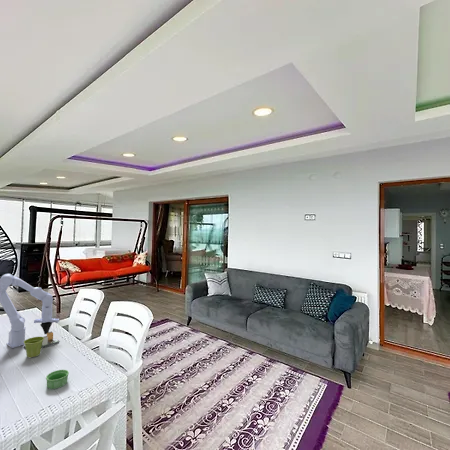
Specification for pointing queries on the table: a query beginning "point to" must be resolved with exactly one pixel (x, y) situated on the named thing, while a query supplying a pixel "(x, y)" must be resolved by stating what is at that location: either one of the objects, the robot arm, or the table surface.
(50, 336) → the breaker orange
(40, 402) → the table surface
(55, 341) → the panel
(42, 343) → the white breaker
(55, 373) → the ramekin
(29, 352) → the plant pot
